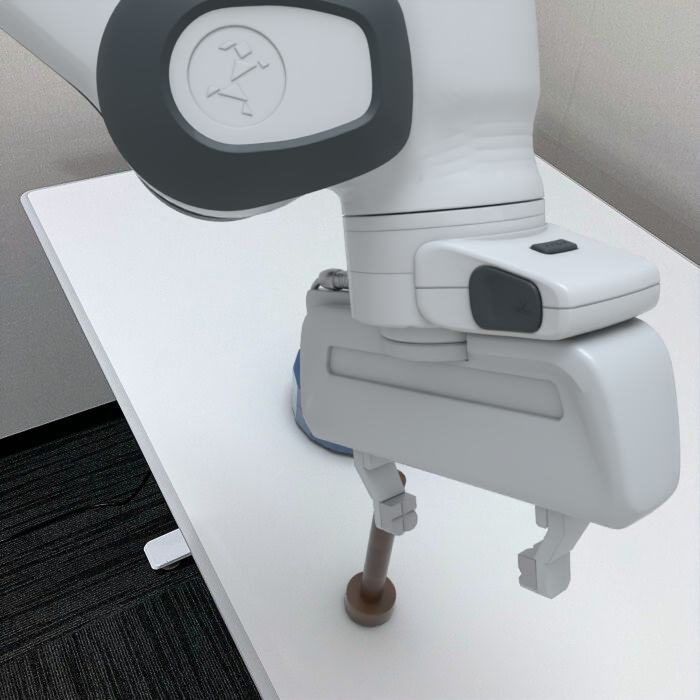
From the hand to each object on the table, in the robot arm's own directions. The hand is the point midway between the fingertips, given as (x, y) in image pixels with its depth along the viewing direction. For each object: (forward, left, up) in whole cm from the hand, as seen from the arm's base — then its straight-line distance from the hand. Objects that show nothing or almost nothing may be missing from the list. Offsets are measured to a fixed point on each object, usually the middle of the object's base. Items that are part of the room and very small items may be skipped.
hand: (464, 556), depth 38 cm
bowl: (+20, +33, -31) cm, 49 cm away
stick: (+7, +13, -31) cm, 34 cm away
